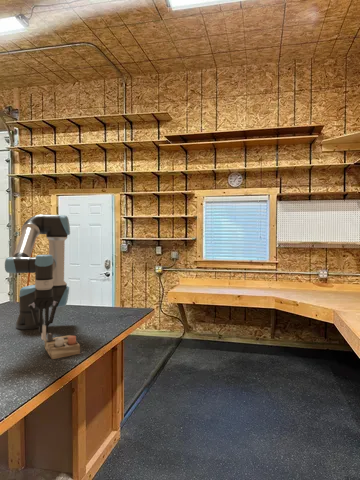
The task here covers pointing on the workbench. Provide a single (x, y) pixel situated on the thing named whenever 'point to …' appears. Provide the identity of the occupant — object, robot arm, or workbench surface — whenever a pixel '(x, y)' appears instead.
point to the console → (61, 348)
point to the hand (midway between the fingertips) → (43, 339)
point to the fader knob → (49, 337)
